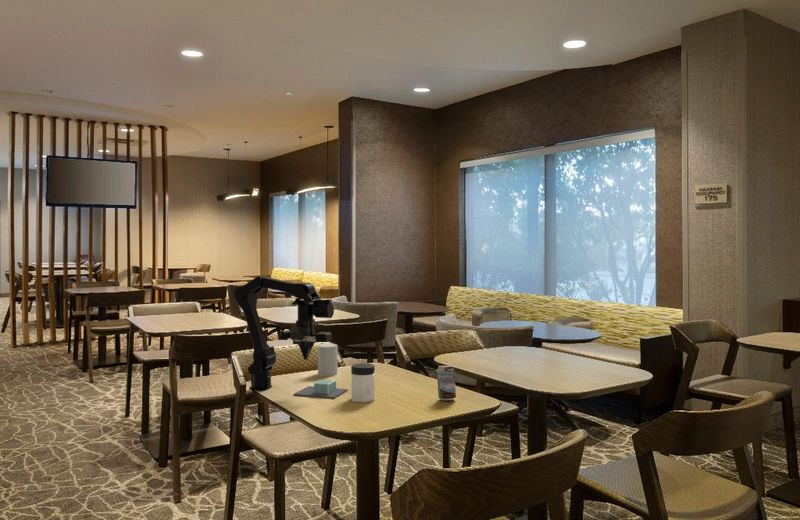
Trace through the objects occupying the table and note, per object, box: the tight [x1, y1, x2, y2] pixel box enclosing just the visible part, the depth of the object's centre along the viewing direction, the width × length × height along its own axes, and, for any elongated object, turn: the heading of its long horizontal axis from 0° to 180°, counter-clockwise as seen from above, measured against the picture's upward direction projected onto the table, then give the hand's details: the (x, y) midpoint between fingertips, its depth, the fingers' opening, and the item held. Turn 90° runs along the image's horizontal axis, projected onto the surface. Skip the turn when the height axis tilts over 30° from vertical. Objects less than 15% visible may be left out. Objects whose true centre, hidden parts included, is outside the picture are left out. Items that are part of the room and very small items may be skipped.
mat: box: [293, 385, 349, 400], centre depth 221 cm, size 16×12×1 cm
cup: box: [317, 343, 339, 377], centre depth 253 cm, size 8×8×12 cm
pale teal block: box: [313, 379, 337, 394], centre depth 221 cm, size 4×6×6 cm
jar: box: [350, 362, 376, 404], centre depth 212 cm, size 9×8×12 cm
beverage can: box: [436, 365, 457, 401], centre depth 211 cm, size 6×7×12 cm
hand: (305, 359), depth 223 cm, fingers closed
